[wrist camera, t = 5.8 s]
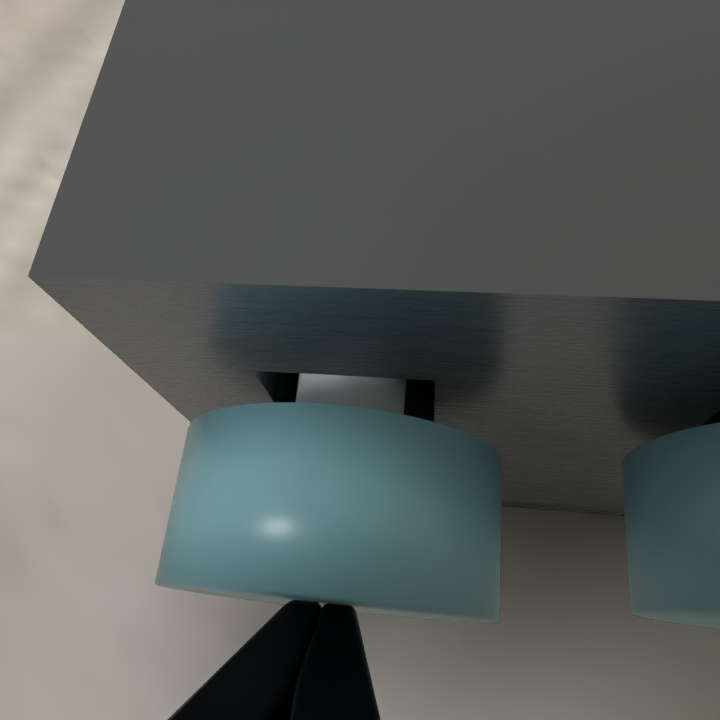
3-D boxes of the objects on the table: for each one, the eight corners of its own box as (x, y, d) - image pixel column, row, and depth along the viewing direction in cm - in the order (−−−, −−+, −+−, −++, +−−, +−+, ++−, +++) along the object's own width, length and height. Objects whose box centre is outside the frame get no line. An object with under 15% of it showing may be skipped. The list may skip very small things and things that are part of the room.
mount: (862, 535, 14) (1681, 335, 5) (205, 481, 16) (-101, 272, 7) (800, 228, 17) (1224, -246, 8) (257, 217, 19) (95, -170, 10)
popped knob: (485, 625, 10) (520, 617, 6) (218, 597, 11) (87, 571, 7) (494, 216, 13) (522, 28, 9) (285, 211, 14) (225, 34, 10)
